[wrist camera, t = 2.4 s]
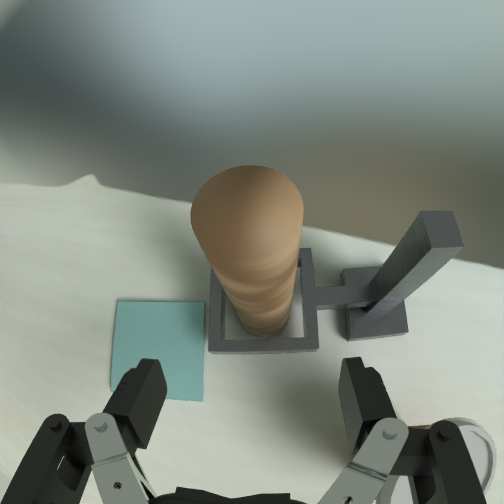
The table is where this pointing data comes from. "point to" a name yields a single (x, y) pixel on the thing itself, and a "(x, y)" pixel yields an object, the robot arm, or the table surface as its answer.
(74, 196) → the table surface
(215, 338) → the ring stand
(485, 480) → the disposable coffee cup
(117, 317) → the felt coaster
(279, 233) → the walnut rod
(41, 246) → the table surface
